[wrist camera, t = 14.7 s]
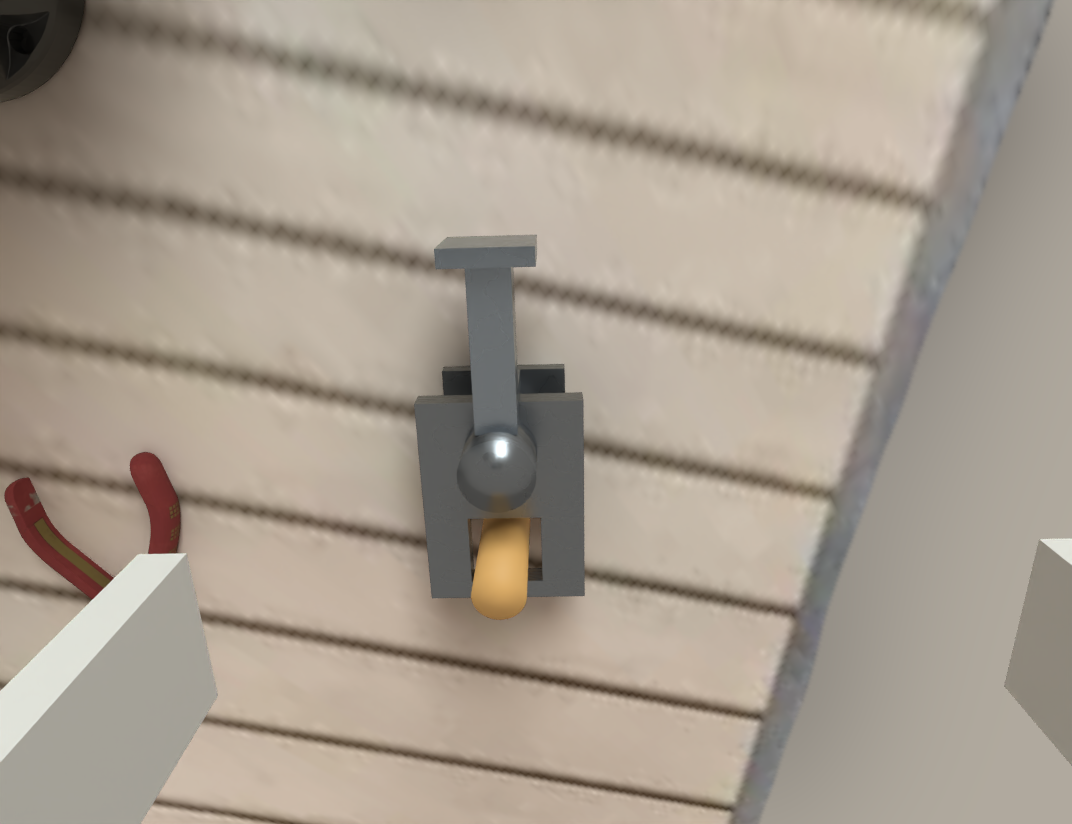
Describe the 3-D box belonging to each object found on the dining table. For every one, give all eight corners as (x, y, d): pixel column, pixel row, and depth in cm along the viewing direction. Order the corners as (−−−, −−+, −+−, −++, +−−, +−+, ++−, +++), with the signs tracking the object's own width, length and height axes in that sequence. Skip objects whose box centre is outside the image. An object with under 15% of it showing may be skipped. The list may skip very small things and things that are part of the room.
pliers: (125, 696, 59) (107, 720, 56) (14, 475, 52) (-13, 491, 50) (259, 672, 58) (246, 695, 55) (162, 444, 51) (143, 458, 49)
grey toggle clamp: (444, 550, 53) (421, 636, 44) (417, 228, 45) (383, 250, 36) (580, 548, 53) (587, 634, 44) (577, 224, 45) (585, 244, 36)
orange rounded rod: (487, 527, 52) (472, 620, 42) (484, 487, 51) (469, 572, 41) (531, 526, 52) (527, 619, 42) (530, 486, 51) (525, 571, 41)
